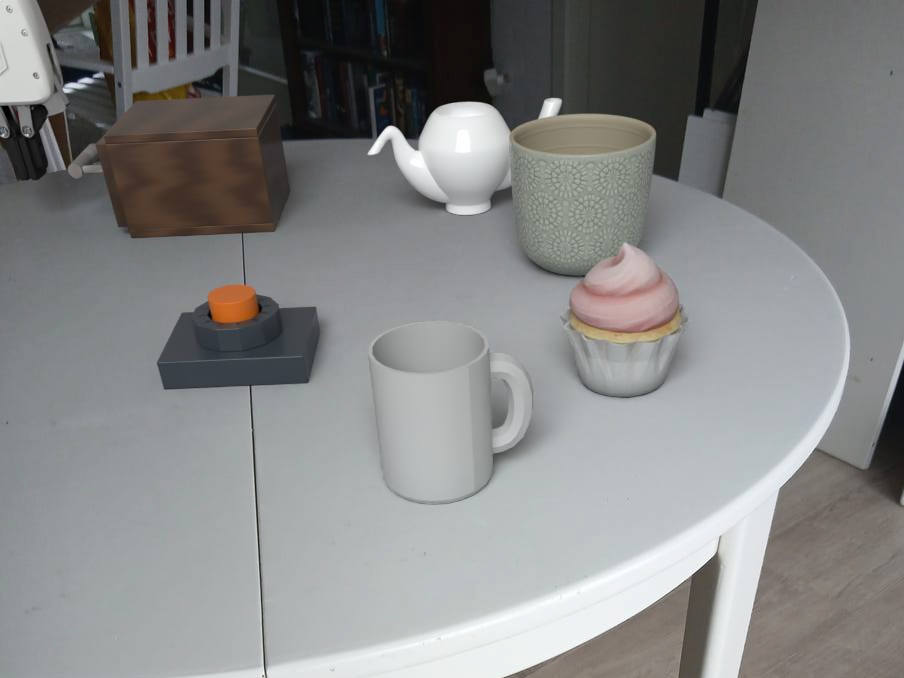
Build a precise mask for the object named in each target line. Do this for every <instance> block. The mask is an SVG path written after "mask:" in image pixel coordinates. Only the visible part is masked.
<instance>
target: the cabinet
mask: <svg viewBox="0 0 904 678" xmlns="http://www.w3.org/2000/svg"><path fill="white" fill-rule="evenodd" d="M276 100H277V99H276V95H275V94H257V95H255V94H254V95H237V96H233V95H232V96H214V97H213V96H212V97H193V98H173V99H171V98H170V99H152V100H151V99H150V100H135V102H134V103H133V104H132V105H131V106H130V107H129V108H128V109H127V110H126V111H125V112H124V113H123V114H122V115H121V116H120V117H119V118H118V119H117V120H116V122H114V123H113V125H112V126H111V127H110V128H109V129H108V130H107V131H106V132H105V133H104V134H103V136H104V139H105V143H106V147H107V150H108V154H109V158H110V161H111V165H112V169H113V173H114V176H115V180H116V184H117V187H118V191H119V195H120V198H121V202H122V206H123V209H124V213H125V217H126V221H127V224H128V227H127V228H128V232H129V235H130V238H131V239H136V238H138V239H139V238H158V237H159V238H161V237H180V236H181V237H182V236H203V235H221V234H223V235H224V234H245V233H246V234H247V233H248V234H249V233H267V232H275V231H276V228H277V226H278V224H279V223H278V222H279V221H280V218H281V216H282V213H283V210H284V208H285V206H286V203H287V200H288V198H289V195H290V192H291V187H290V181H289V175H288V168H287V161H286V156H285V149H284V144H283V143H284V142H283V137H282V131H281V125H280V119H279V118H280V117H279V112H278V106H277V101H276Z"/></svg>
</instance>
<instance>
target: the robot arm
mask: <svg viewBox="0 0 904 678" xmlns="http://www.w3.org/2000/svg"><path fill="white" fill-rule="evenodd" d="M54 46H55V45H54V43H53V41H52V37H51V34H50V31H49V28H48V26H47V23H46V21H45V18H44V15H43V12H42V10H41V7H40V5H39V3H38V0H0V137H1V138H2V139H4V140H5V143H6V145H7V146H6V147H7V150H8V152H9V156H10V159H11V162H12V166H13V168H14V169H15V170H18V173H19V178H20V180H21V181H24V182H25V181H29V180H32V181H39V180H40V179H41V178H42V177H44V176H45V175H46V174H47V171H48V170H47V169H48V167H49V159H48V157H47V156H48V155H47V153H46V149H45V145H44V142H43V139H42V135H41V132H40V131H41V130H42V129H43V126H44V124H45V123H46V121H47V119H48V118H49V117H52V116H55V115H58V114H61V113H64V112H65V111H67V110H68V109H69V108H70V105H71V104H70V100H69V99H68V97H67V94H66V93H65V91H64V79H63V74H62V73H63V72H62V69H61V65H60V61H59V59H58V55H57V53H56V49H55V47H54ZM12 106H16V108H17V109H16V110H17V115H18V118H17V116H16V114H15V111H14V108H13V107H12ZM18 120H19V121H18Z"/></svg>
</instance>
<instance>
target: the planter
mask: <svg viewBox="0 0 904 678" xmlns="http://www.w3.org/2000/svg"><path fill="white" fill-rule="evenodd" d="M656 144H657V132H656V129H655V128H654V127H653V126H652V125H651V124H649V123H647V122H645V121H642V120H639V119H637V118H632V117H629V116H623V115H616V114H607V113H571V114H570V113H569V114H568V113H567V114H560V115H559V114H558V115H557V116H551V117H545V118H541V119H538V118H537V119H532V120H530V121H527V122H525V123H522V124H520V125H518V126H516V127H515V128H514V129H512V130H511V133H510V135H509V157H510V173H511V185H512V186H511V194H512V204H513V213H514V214H513V215H514V221H515V228H516V235H517V239H518V242H519V245H520V247H521V248H522V251H523V252H524V253H525V255H526V256H527V257H528V258H529V259H530V261H532V262H534V263H535V264H536V265H538V266H539V267H541V268H542V269H544V270H546V271H548V272H551V273H554V274H558V275H564V276H574V277H575V276H576V277H579V276H580V277H581V276H586V274H587V273H588V272H589V271H590V270H591V269H592V268H593V267H594V266H595V265H596V264H597V263H599V262H600V261H602V260H604V259H606V258H609V257H614V256H618V253H619V250H620V249H621V247H622V245H623V243H628V244H630V245H632V246H634V247H637V248H638V246H639V244H640V241H641V239H642V236H643V232H644V227H645V224H646V223H645V222H646V218H647V212H648V206H649V201H650V192H651V186H652V180H653V173H654V165H655V156H656V155H655V154H656V147H657V146H656Z"/></svg>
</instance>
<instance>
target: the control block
mask: <svg viewBox="0 0 904 678" xmlns="http://www.w3.org/2000/svg"><path fill="white" fill-rule="evenodd" d="M256 297H257V302H258V307H259V314H258V315H256V316H255V317H253V318H251V319H248V320H244V321H241V322H229V323H221V322H217V321H213V319H212V315H211V311H210V307H209V302H208V300H207V301H205V302H204V303H202V304H200V305H199V306H196V307H195V308H194V311H185V312H181V313H180V316H179V317H178V319H177V322H176V324H175V325H174V328H173V329H172V331H171V334H170V336H169V337H168V340H167V341H166V343H165V345H164V347H163V349H162V351H161V353H160V354H159V357H158V359H157V361H156V365H157V369H158V372H159V376H160V380H161V383H162V386H163V390H172V389H195V388H218V387H219V388H220V387H239V386H240V387H241V386H266V385H286V384H307V383H308V382H309V379H310V375H311V369H312V366H313V362H314V358H315V354H316V349H317V345H318V341H319V337H320V333H321V329H320V328H321V327H320V323H319V316H318V315H319V314H318V310H317V306H297V307H296V306H295V307H280V305H279V304H278V303H277V302H276V300H274V299H273V298H272V297H271V296H267V295H263V294H257V293H256Z"/></svg>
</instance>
